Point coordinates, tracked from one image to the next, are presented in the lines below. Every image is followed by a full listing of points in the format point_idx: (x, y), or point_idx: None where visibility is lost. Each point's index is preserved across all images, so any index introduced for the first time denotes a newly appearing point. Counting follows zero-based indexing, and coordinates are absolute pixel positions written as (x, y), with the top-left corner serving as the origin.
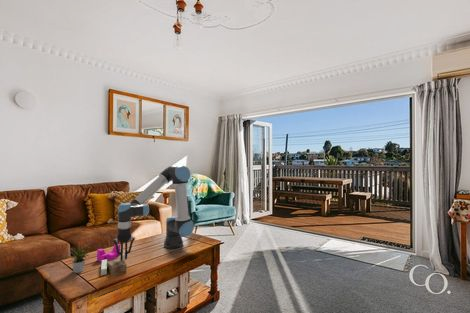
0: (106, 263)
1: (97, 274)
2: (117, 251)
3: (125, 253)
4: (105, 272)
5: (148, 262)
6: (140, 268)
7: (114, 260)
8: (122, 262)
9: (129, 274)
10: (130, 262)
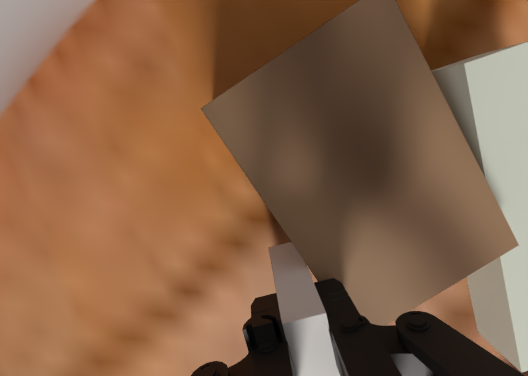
0: None
1: None
2: (472, 351)
3: (279, 347)
4: (447, 66)
5: (36, 348)
6: (72, 190)
7: (422, 275)
8: (285, 186)
9: (149, 25)
10: None
